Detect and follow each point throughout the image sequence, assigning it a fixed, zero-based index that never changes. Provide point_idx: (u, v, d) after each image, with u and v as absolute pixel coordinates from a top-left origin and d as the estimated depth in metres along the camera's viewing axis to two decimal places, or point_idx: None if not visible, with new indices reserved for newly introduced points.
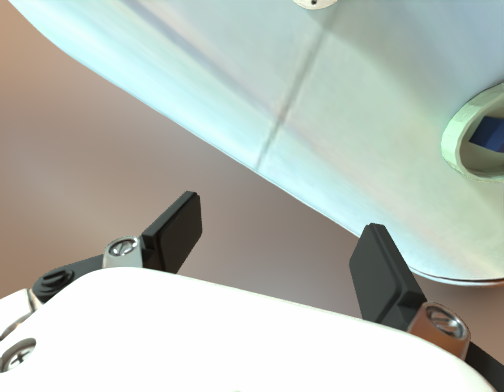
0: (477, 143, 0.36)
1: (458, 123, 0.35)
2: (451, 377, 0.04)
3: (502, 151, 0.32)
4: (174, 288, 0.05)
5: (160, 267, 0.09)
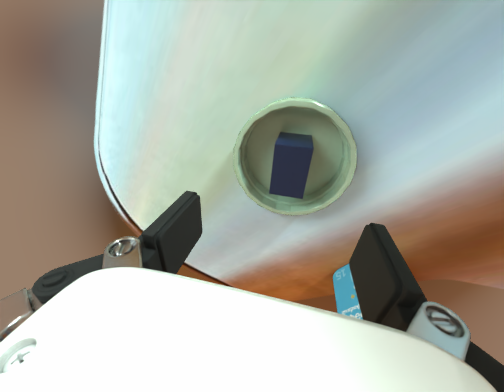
0: (280, 135, 0.28)
1: (309, 99, 0.25)
2: (451, 377, 0.04)
3: (275, 149, 0.24)
4: (174, 288, 0.05)
5: (160, 267, 0.09)
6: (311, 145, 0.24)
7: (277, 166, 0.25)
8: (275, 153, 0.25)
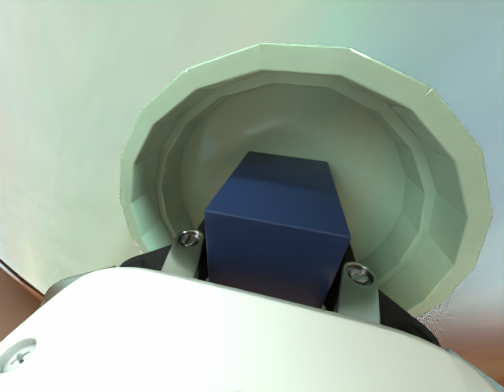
0: (243, 164, 0.10)
1: None
2: (451, 377, 0.04)
3: (210, 228, 0.07)
4: (174, 288, 0.05)
5: None
6: (337, 213, 0.07)
7: (223, 272, 0.08)
8: (211, 238, 0.07)
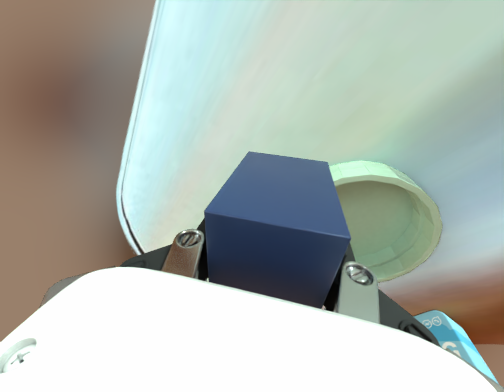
0: (244, 164, 0.10)
1: (388, 171, 0.21)
2: (451, 377, 0.04)
3: (210, 228, 0.07)
4: (174, 288, 0.05)
5: None
6: (337, 214, 0.07)
7: (223, 273, 0.08)
8: (211, 239, 0.07)
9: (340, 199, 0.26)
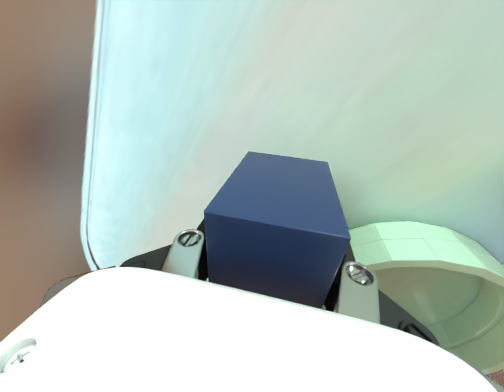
0: (243, 164, 0.10)
1: (462, 248, 0.14)
2: (451, 377, 0.04)
3: (210, 228, 0.07)
4: (174, 288, 0.05)
5: None
6: (337, 214, 0.07)
7: (223, 273, 0.08)
8: (211, 239, 0.07)
9: None
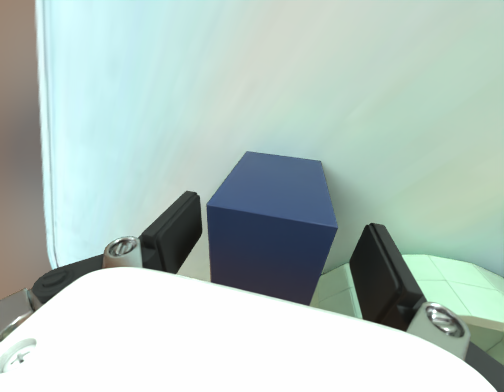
0: (242, 163, 0.11)
1: (495, 294, 0.11)
2: (451, 377, 0.04)
3: (212, 220, 0.08)
4: (174, 288, 0.05)
5: (160, 267, 0.09)
6: (327, 207, 0.08)
7: (224, 262, 0.09)
8: (212, 230, 0.08)
9: None
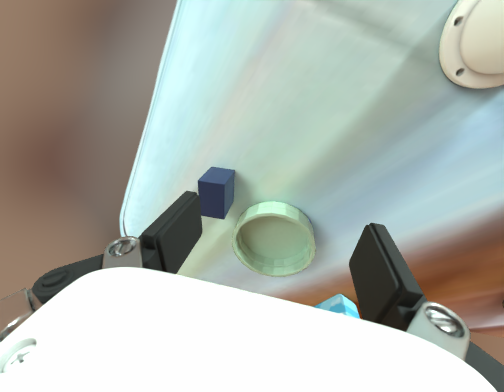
0: (208, 171, 0.37)
1: (283, 209, 0.37)
2: (451, 377, 0.04)
3: (199, 184, 0.33)
4: (174, 288, 0.05)
5: (159, 267, 0.09)
6: (225, 181, 0.34)
7: (202, 196, 0.34)
8: (199, 186, 0.34)
9: (266, 223, 0.42)
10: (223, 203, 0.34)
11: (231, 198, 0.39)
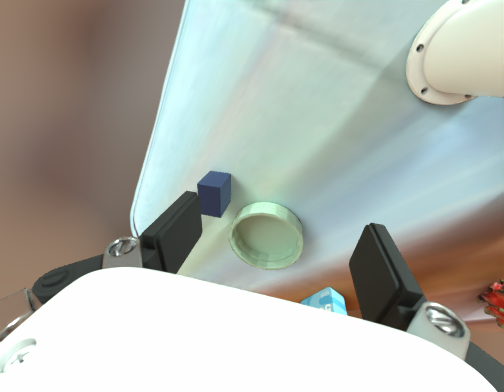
0: (207, 174, 0.41)
1: (274, 209, 0.41)
2: (451, 377, 0.04)
3: (198, 187, 0.38)
4: (174, 288, 0.05)
5: (160, 267, 0.09)
6: (221, 184, 0.38)
7: (201, 197, 0.39)
8: (198, 189, 0.38)
9: (259, 221, 0.47)
10: (219, 203, 0.39)
11: (228, 199, 0.44)
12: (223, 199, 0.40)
